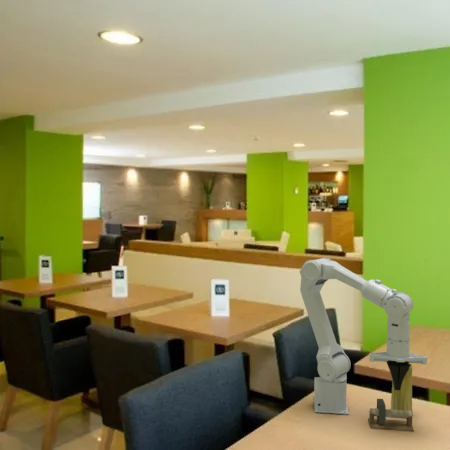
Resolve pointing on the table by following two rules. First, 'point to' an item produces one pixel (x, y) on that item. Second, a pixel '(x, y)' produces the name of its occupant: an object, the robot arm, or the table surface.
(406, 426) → the pipe stand
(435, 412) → the table surface
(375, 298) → the robot arm
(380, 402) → the dark grey square frame
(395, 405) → the vase
